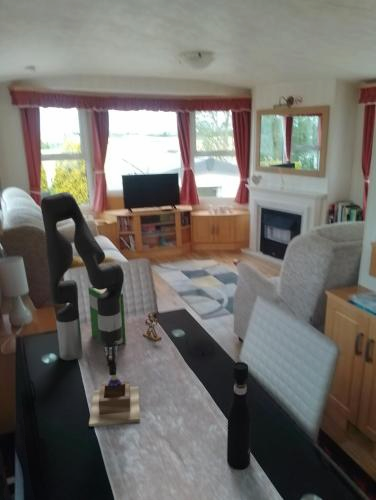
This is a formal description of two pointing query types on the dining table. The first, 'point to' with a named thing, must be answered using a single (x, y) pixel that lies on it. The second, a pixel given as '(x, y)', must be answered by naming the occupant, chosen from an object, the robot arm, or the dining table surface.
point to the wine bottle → (239, 421)
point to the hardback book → (94, 313)
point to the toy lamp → (114, 380)
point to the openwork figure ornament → (148, 333)
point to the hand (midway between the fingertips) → (113, 372)
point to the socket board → (115, 405)
